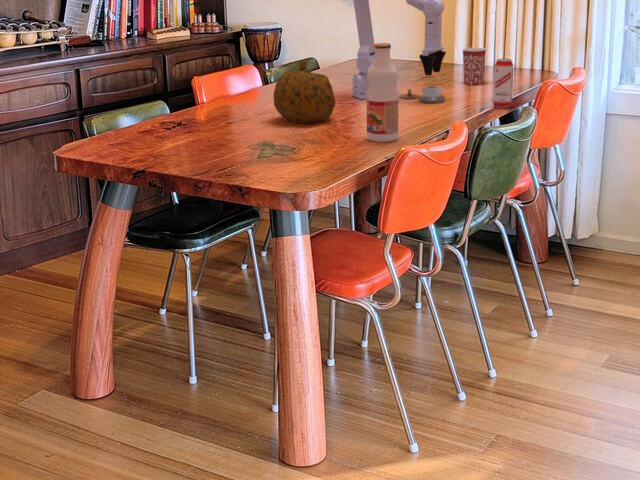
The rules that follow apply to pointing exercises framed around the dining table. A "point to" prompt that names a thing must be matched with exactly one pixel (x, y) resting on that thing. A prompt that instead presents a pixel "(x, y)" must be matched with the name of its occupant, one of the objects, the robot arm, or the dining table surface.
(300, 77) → the decorative pumpkin
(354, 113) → the dining table surface
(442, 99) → the hub
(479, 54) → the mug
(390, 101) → the fruit juice
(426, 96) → the square tube sleeve
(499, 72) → the beer can
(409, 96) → the stand
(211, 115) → the dining table surface
